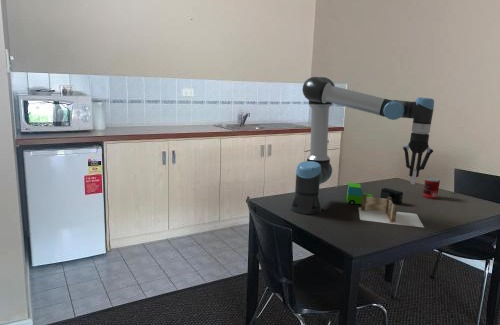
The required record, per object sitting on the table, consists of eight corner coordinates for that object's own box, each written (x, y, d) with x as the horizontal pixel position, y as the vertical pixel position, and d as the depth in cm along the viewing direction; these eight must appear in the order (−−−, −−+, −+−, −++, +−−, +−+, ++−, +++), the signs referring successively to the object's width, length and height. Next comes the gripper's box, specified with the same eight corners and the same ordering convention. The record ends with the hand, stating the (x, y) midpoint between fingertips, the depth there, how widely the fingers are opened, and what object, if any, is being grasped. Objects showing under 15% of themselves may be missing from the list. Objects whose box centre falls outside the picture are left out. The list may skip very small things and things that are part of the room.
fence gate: (386, 212, 193) (388, 198, 191) (390, 213, 193) (392, 199, 191) (391, 221, 180) (393, 206, 179) (395, 222, 180) (397, 207, 179)
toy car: (373, 208, 202) (375, 189, 200) (347, 205, 205) (348, 187, 203) (371, 202, 212) (373, 184, 210) (346, 199, 214) (348, 182, 212)
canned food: (438, 196, 229) (440, 178, 227) (436, 200, 222) (438, 181, 220) (423, 194, 233) (426, 176, 230) (421, 197, 226) (424, 179, 224)
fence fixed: (361, 210, 196) (362, 194, 194) (360, 209, 198) (362, 193, 196) (389, 213, 193) (391, 198, 191) (389, 212, 195) (391, 197, 193)
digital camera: (378, 201, 215) (380, 189, 213) (383, 199, 218) (385, 187, 217) (396, 206, 207) (398, 193, 206) (401, 204, 211) (403, 192, 209)
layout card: (360, 220, 182) (360, 219, 182) (358, 208, 200) (358, 207, 200) (424, 228, 176) (424, 227, 176) (416, 215, 195) (416, 213, 194)
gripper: (406, 132, 173) (398, 183, 178) (437, 135, 170) (429, 187, 175) (403, 130, 180) (396, 179, 185) (434, 133, 177) (425, 183, 182)
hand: (412, 183), depth 180 cm, fingers closed
